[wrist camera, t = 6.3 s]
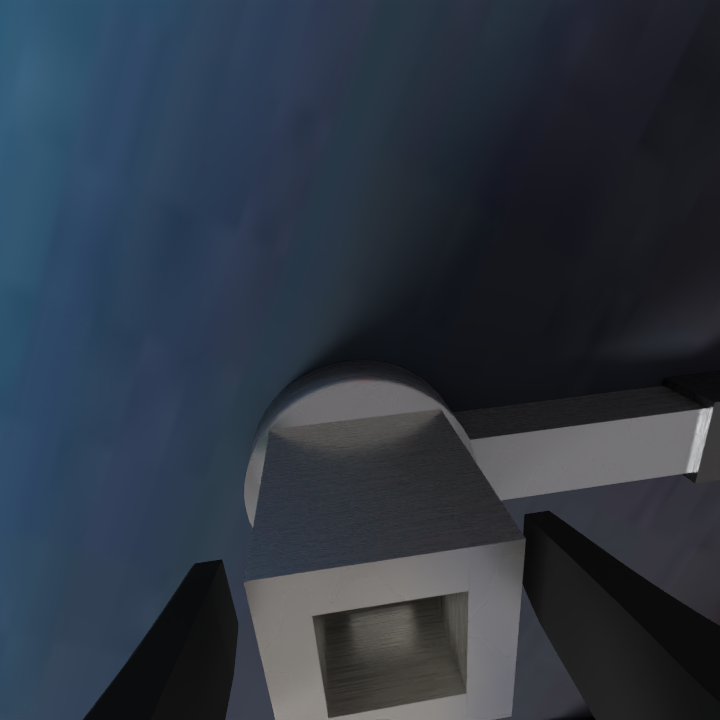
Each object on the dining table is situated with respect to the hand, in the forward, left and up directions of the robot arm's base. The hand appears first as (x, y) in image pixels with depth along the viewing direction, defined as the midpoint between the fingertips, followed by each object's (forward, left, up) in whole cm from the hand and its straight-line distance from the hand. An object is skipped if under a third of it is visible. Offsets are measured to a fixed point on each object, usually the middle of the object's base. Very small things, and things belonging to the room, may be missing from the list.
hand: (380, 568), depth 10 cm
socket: (0, 0, -3) cm, 3 cm away
